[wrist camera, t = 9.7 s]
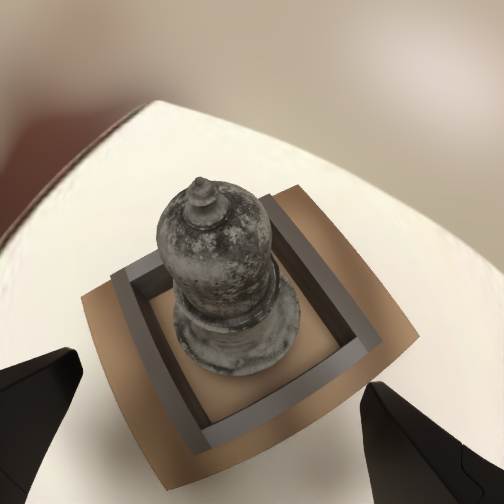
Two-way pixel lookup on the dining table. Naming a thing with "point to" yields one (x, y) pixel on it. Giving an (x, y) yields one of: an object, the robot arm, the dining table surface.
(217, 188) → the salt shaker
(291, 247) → the collar holder
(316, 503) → the dining table surface
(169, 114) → the dining table surface
